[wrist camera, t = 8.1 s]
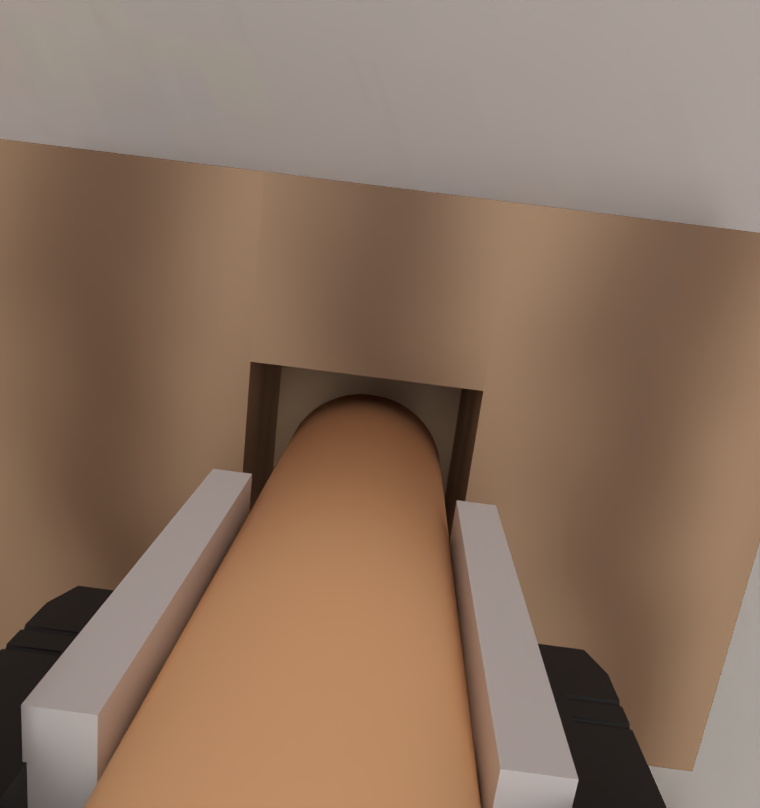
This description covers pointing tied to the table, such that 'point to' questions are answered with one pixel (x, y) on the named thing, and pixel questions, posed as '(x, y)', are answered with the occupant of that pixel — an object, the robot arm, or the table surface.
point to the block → (390, 387)
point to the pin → (318, 641)
